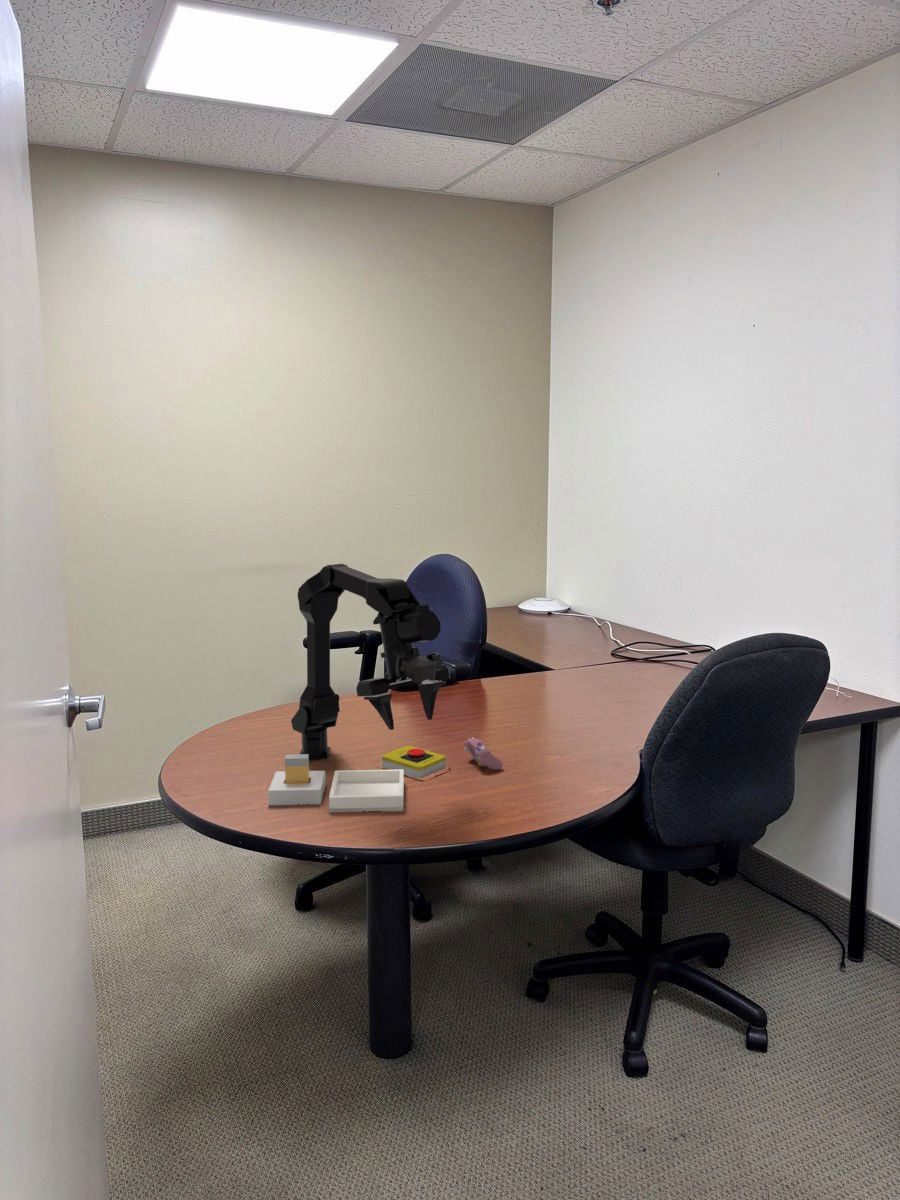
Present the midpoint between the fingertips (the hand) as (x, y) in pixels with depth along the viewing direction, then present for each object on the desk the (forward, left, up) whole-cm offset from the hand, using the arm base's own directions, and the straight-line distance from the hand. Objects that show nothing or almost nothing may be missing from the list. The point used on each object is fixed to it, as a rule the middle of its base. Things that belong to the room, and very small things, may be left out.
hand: (411, 724), depth 170 cm
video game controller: (-19, +15, -16) cm, 29 cm away
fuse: (-4, -23, -15) cm, 28 cm away
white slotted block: (-4, -23, -15) cm, 28 cm away
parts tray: (-2, -9, -15) cm, 18 cm away
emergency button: (-18, 0, -16) cm, 24 cm away
